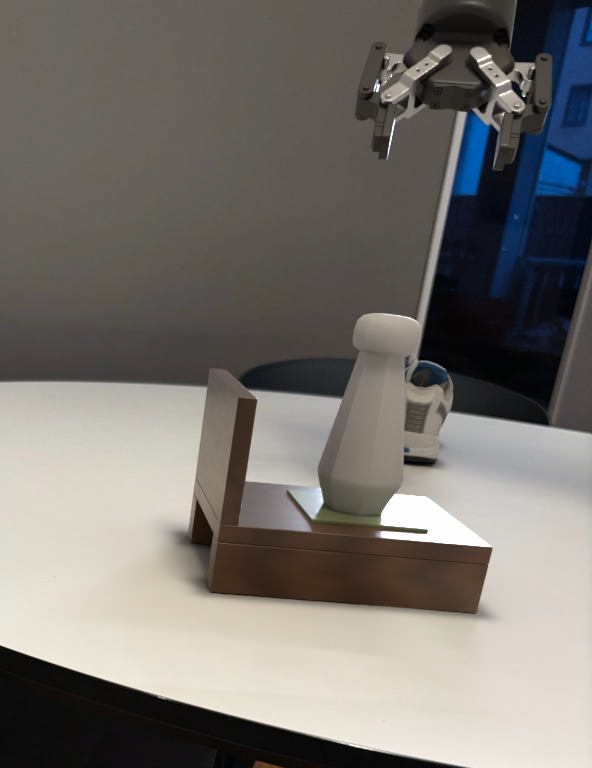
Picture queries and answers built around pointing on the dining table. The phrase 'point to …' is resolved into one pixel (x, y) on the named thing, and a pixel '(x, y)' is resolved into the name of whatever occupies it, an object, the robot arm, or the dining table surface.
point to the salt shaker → (370, 419)
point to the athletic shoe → (425, 409)
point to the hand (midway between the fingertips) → (441, 155)
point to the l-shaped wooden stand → (319, 530)
